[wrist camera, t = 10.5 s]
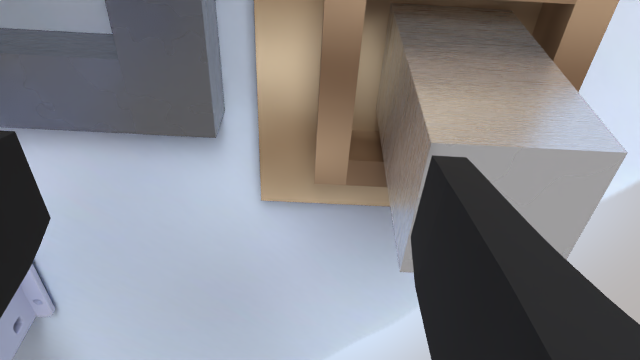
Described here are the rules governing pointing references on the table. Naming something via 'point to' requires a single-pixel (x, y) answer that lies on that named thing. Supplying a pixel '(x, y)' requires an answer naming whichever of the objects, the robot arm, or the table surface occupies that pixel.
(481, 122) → the brushed metal block
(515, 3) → the rack board
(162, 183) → the table surface
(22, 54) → the socket
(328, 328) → the table surface
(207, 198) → the table surface
